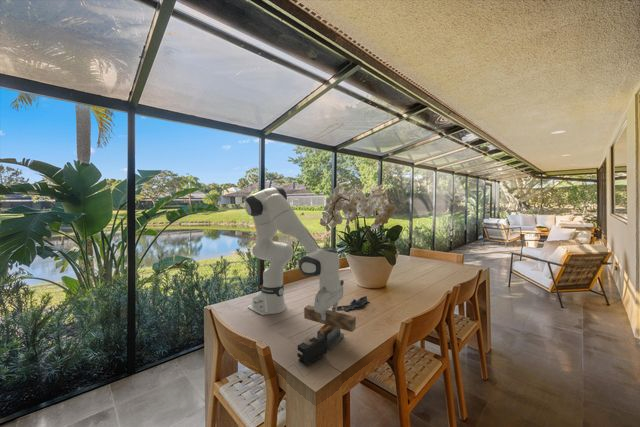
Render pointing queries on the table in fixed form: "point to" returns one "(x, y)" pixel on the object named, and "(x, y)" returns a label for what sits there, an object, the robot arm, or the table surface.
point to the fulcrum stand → (330, 335)
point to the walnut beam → (331, 318)
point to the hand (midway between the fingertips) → (329, 315)
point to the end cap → (311, 350)
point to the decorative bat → (354, 304)
